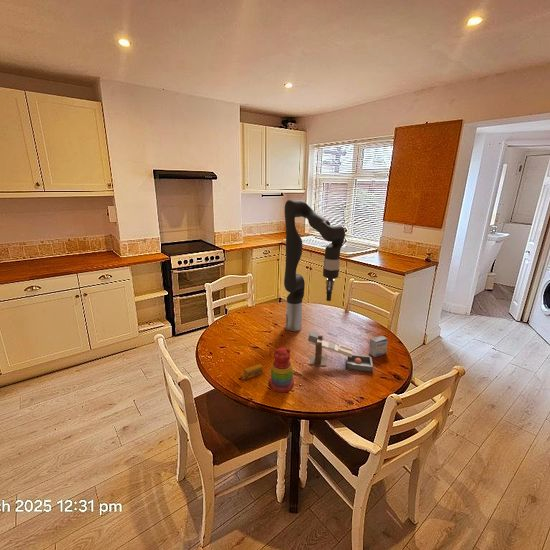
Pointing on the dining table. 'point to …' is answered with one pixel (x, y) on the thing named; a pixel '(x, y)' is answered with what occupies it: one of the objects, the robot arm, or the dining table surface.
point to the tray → (364, 366)
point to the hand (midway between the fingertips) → (328, 300)
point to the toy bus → (251, 372)
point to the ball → (357, 361)
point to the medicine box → (378, 346)
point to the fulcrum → (318, 355)
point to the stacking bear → (281, 371)
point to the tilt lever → (329, 345)
